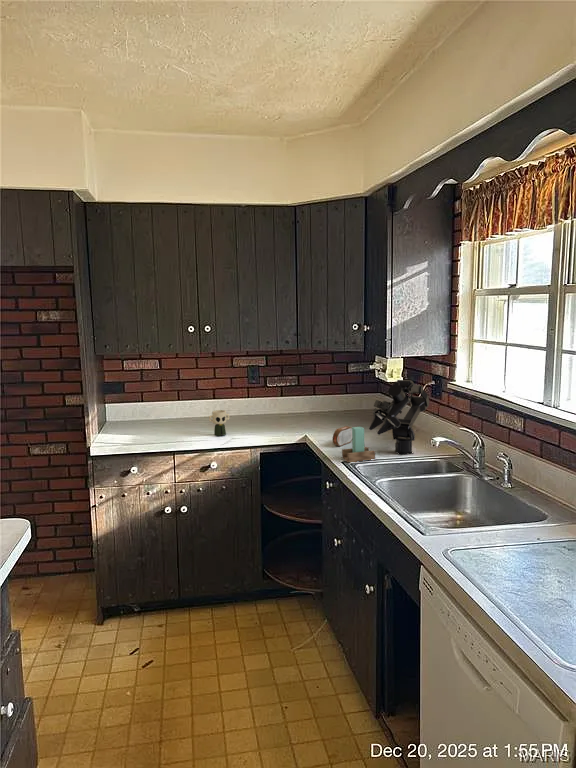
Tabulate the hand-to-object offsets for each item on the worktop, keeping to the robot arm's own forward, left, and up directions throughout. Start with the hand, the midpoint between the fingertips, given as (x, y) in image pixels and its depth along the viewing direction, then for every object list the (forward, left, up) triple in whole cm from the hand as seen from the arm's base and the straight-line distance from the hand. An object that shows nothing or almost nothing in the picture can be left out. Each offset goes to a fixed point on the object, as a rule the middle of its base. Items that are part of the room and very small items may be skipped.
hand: (373, 431), depth 250 cm
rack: (+7, 0, -12) cm, 14 cm away
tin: (+4, -26, -12) cm, 29 cm away
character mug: (+58, -67, -12) cm, 90 cm away
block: (+7, 0, -11) cm, 13 cm away
